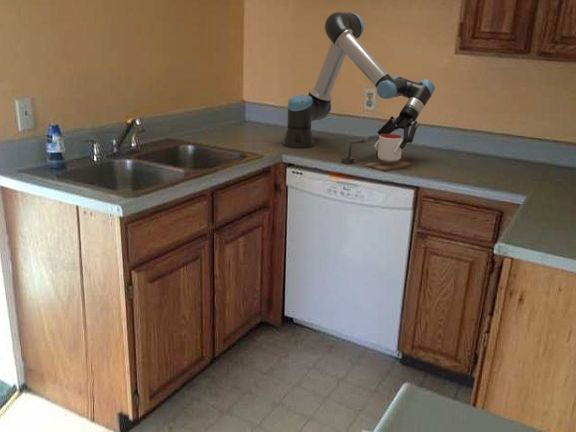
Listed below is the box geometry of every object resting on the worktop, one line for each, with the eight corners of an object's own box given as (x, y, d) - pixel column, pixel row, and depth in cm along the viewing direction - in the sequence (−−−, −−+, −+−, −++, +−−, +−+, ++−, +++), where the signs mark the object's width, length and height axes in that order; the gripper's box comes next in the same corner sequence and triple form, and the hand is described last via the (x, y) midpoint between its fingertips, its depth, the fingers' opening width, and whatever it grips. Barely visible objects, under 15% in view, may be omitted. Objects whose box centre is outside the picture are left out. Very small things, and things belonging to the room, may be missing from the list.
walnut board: (364, 166, 234) (364, 164, 234) (390, 160, 246) (390, 158, 245) (385, 171, 226) (385, 169, 226) (410, 165, 238) (410, 163, 238)
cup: (400, 162, 230) (402, 139, 226) (376, 160, 231) (378, 137, 228) (400, 157, 239) (403, 134, 235) (377, 155, 241) (379, 133, 237)
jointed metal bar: (340, 162, 239) (342, 140, 235) (380, 153, 256) (382, 133, 253) (348, 164, 235) (350, 142, 232) (388, 155, 253) (390, 135, 250)
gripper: (436, 120, 231) (410, 161, 227) (393, 112, 247) (368, 151, 242) (430, 108, 226) (403, 150, 221) (387, 101, 241) (361, 140, 237)
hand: (385, 151), depth 232 cm, fingers closed on cup, 10 cm apart
